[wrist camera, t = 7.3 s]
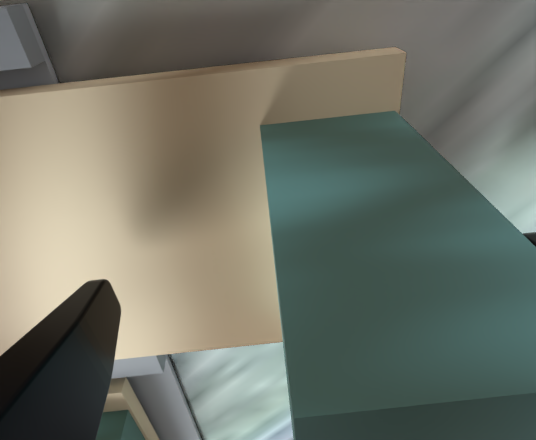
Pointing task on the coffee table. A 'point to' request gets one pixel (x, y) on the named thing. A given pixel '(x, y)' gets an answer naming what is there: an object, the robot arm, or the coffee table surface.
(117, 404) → the broken strip
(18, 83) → the lane board
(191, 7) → the coffee table surface
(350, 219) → the teal block on board
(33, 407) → the robot arm
